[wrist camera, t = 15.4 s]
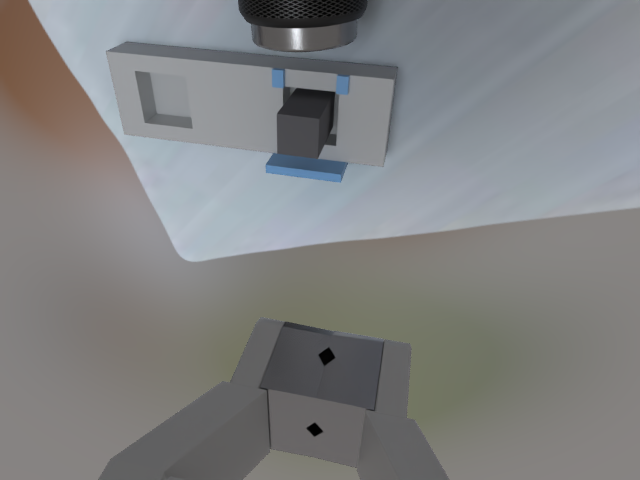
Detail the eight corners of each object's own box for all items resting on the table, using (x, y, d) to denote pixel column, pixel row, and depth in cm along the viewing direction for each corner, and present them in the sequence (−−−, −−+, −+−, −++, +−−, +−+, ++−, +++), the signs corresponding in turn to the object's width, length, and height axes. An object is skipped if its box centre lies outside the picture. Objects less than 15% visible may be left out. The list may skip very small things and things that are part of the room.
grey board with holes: (126, 41, 46) (89, 58, 41) (397, 67, 42) (391, 89, 37) (143, 128, 51) (112, 152, 46) (386, 158, 47) (379, 187, 42)
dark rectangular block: (297, 86, 44) (276, 113, 38) (335, 90, 43) (319, 118, 38) (297, 122, 46) (277, 153, 40) (333, 126, 45) (317, 159, 40)
